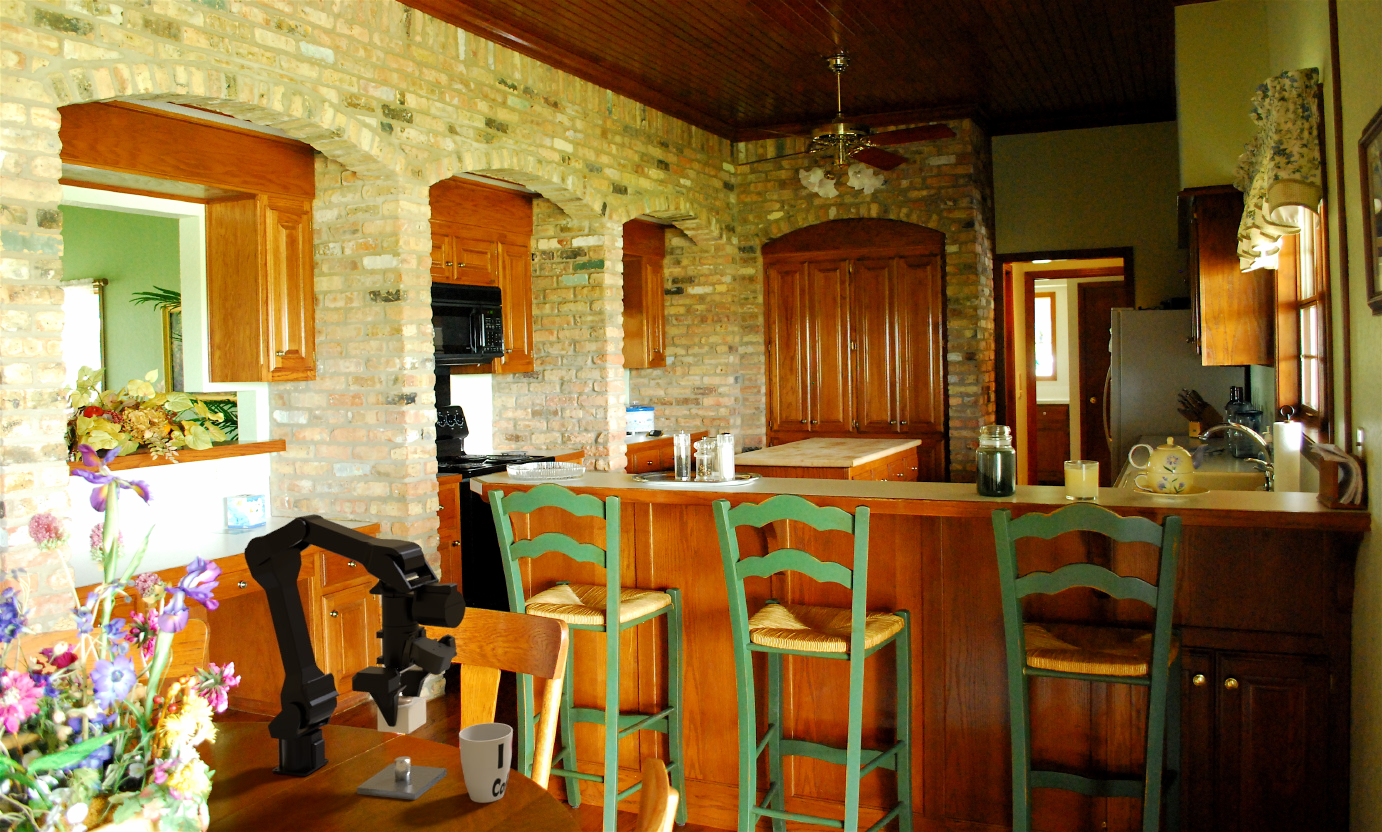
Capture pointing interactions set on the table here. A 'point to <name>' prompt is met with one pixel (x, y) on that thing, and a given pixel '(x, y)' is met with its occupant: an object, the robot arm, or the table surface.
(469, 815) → the table surface
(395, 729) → the cap
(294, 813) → the table surface
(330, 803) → the table surface
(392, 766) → the post fixture
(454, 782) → the table surface
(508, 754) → the cup
